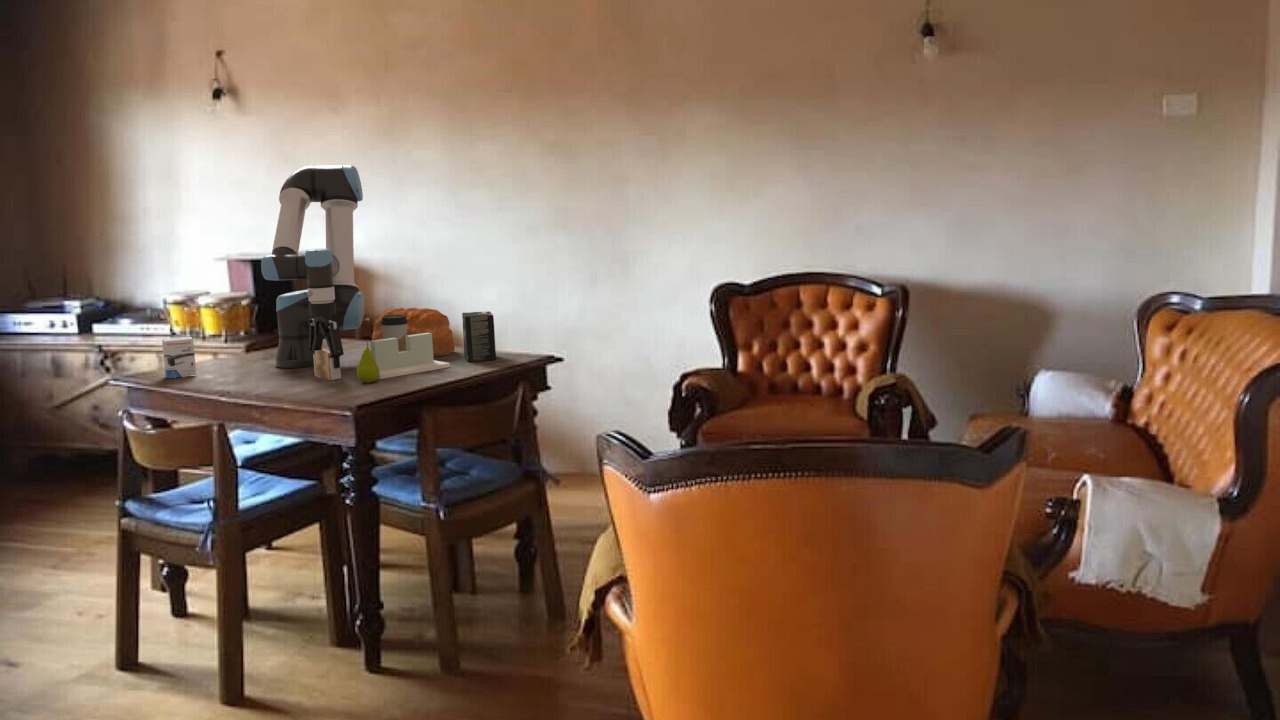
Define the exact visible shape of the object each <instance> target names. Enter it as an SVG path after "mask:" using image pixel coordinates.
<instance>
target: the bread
mask: <svg viewBox="0 0 1280 720" xmlns="http://www.w3.org/2000/svg"><path fill="white" fill-rule="evenodd" d="M389 315H405V316H406V319H407V322H408V323H407V336H408V335H415V334H422V333H432V343H433V358H434V357H442V356H447V355H450V354H452V353H454V352H455V349H456V348H455V341H454V338H453V330H452V329H451V327H450V325H451V324H450V321H449V318H448V316H447V315H445V314H443V313H441V311H440V310H437V309H432V308H425V307H424V308H417V307H410V308H406V309H405V308H403V307H401V308H389V309H385V310H383V311H382V312H380V314H379V315H378V316H376V318H375V319H374V321H373V325H372V328H373V333H372V335H371V341H374V340H380V339H383V333H382V326H381V320H382V317H383V316H389Z"/></svg>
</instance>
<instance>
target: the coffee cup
mask: <svg viewBox="0 0 1280 720" xmlns="http://www.w3.org/2000/svg"><path fill="white" fill-rule="evenodd" d="M407 323H408V322H407V319H406V316H405V315H389V316H383V317H382V320H381V326H382V333H383V339H387V338H398V349H399V351H406V338H405V336H407Z"/></svg>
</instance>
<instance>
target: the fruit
mask: <svg viewBox="0 0 1280 720" xmlns="http://www.w3.org/2000/svg"><path fill="white" fill-rule="evenodd" d="M379 375H380V373H379V368H378V366H377V364H376V363H375V362H374V359H373V357H372V353H371V348H370V347H369V342H368V340H367V341H366V347H365V349H364V351H363V353H362V354H361V357H360V361H359V363H358V365H357V366H356V376H357V378H358V379H359V380H360V381H361V382H362V383H364V384H372V383H374V382H376V381H377V380H378V379H379Z"/></svg>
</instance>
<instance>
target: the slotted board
mask: <svg viewBox="0 0 1280 720" xmlns="http://www.w3.org/2000/svg"><path fill="white" fill-rule="evenodd" d="M405 338H406V351H399V349H398V338H387V339H380V340H374V341H372V340H370V342H369V343H370V351H371V353H372V357H373V359H374V362H375V363H376V364H377V366H378V368H379V373H380V375H379V378H378V379H381V380H382V379H383V380H384V379H388V378H395V377H398V376H399V377H401V376H407V375H410V374H411V375H412V374H418V373H423V372H430V371H435V370H441V369H446V368H450V367H451V364H450V363H449V362H447V361H446V362H445V361H439V360H434V357H433V343H432V333H422V334H415V335H408V336H405Z"/></svg>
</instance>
